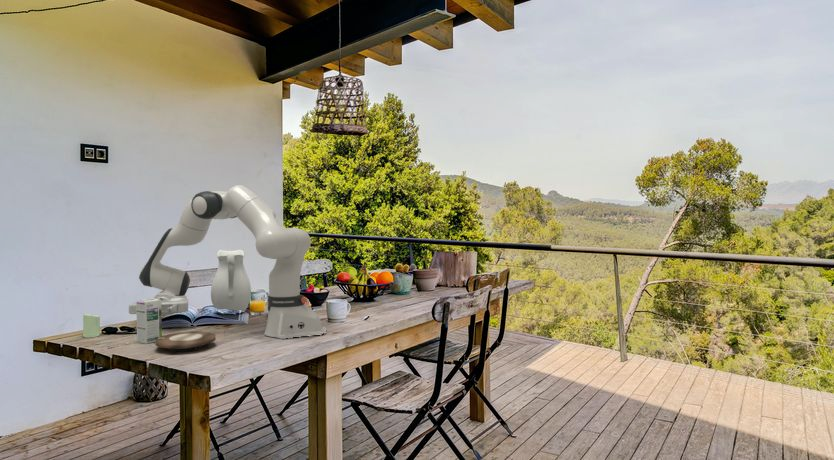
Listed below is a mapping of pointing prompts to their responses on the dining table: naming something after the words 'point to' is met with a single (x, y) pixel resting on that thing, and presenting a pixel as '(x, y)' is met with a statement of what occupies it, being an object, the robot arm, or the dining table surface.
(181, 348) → the turntable base
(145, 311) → the syrup box
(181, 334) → the brown plate
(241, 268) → the pitcher
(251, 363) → the dining table surface
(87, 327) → the candle
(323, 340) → the dining table surface
